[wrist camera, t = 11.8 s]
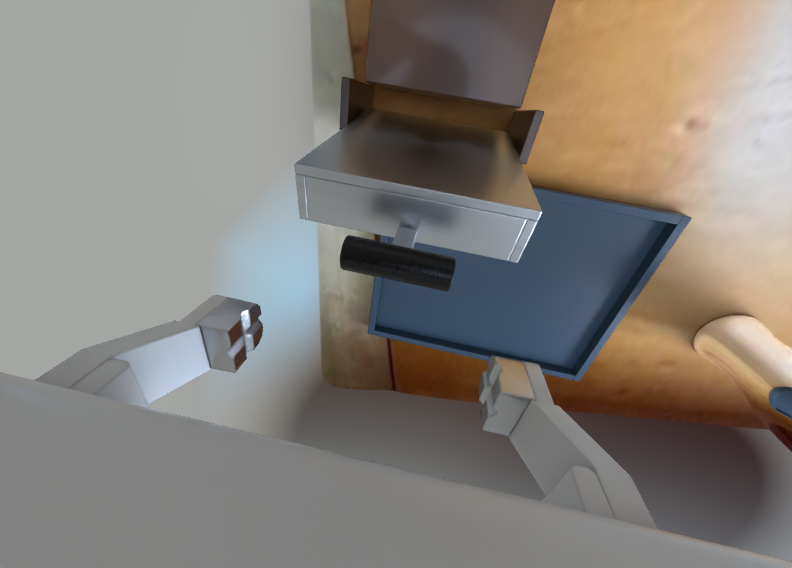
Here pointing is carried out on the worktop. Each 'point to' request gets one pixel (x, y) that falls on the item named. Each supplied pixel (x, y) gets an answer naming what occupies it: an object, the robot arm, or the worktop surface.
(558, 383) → the worktop surface
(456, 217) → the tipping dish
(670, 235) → the tray
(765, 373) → the silver metal vase
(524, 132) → the stand
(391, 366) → the worktop surface
